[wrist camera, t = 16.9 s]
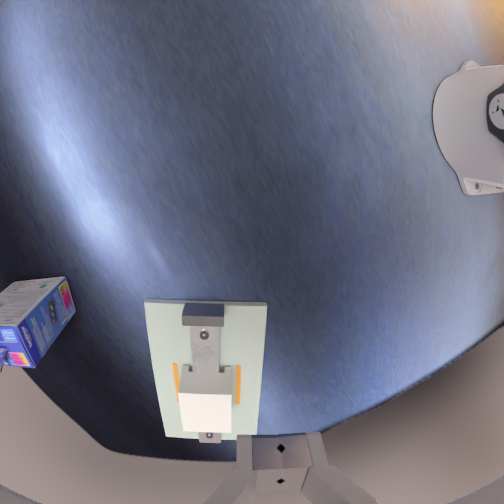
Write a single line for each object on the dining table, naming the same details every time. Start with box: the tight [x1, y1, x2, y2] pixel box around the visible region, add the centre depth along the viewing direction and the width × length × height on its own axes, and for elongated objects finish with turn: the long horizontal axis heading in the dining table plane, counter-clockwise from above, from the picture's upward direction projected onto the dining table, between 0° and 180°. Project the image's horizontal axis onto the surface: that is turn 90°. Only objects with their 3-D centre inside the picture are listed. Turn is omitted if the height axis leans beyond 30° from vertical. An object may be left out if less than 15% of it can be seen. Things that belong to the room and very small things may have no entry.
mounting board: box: [144, 299, 267, 440], centre depth 39 cm, size 14×24×1 cm, turn 177°
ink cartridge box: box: [0, 277, 76, 372], centre depth 27 cm, size 10×6×14 cm, turn 96°
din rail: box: [182, 303, 224, 443], centre depth 37 cm, size 4×23×3 cm, turn 177°
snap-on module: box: [178, 365, 232, 433], centre depth 36 cm, size 6×7×5 cm
